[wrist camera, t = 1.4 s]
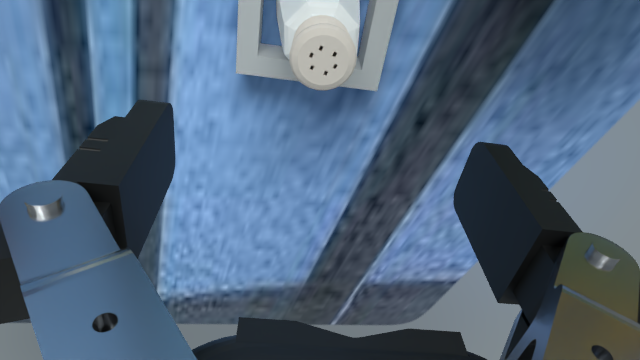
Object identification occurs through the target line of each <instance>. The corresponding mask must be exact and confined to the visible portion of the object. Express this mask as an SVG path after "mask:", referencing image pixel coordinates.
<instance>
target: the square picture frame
mask: <svg viewBox="0 0 640 360" xmlns="http://www.w3.org/2000/svg"><path fill="white" fill-rule="evenodd" d="M398 2H399V0H369V4H368V9H367V14H366V19H365V23H364V28H363V33H362V38H361V43H360V48H359V53H358V56H357V60H356V66H355V69H354V71H353V73H352V75H351V76H350V77H349V79H348V80H347V81H346V82H344V83H343V84H342V85H340V87H348V88H356V89H363V90H371V91H377V89H378V85H379V81H380V77H381V72H382V68H383V64H384V60H385V56H386V52H387V47H388V43H389V39H390V35H391V31H392V27H393V22H394V18H395V14H396V10H397V6H398ZM263 3H264V0H238V29H237V58H236V73H238V74H246V75H253V76H261V77H269V78H277V79H285V80H293V81H299V80H298V79H297V78H296V77H295V75H294V73H293V72H292V70H291V66H290V62H289V59H288V58H287V57H286V56H285V55H284V52H283V49H282V46H277V45H270V44H263V43H261V33H262V18H263Z"/></svg>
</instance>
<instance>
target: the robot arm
mask: <svg viewBox="0 0 640 360" xmlns="http://www.w3.org/2000/svg"><path fill="white" fill-rule="evenodd" d="M174 169H175V140H174V119H173V108H172V105H171V104H170V103H164V102H156V101H147V100H138V101H137V102H136V103H135V105H134V106H133V107H132V109H131V110H130V111H129V113H128V114H127V115H126V117H116V116H115V117H113V118H111V119H109V120H107V121H105V122H103V123H101V124H99V125H97V127H96V128H95V129H94V130H93V131H92V133H91V134H90V135H89V136H88V140H85V141H84V142H83V143H82V145H81V146H80V149H79V150H78V149H77V151H76V152H75V153H74V154H73V155H72V157H71V158H70V159H69V160H68V161H67V163H66V164H65V165H64V166H63V167H62V169H61V170H60V171H59V172H58V173H57V175H56V176H55V177H54V178H53V179H52V180H50V181H42V182H36V183H33V184H29V185H26V186H24V187H21V188H19V189H17V190H15V191H13V192H12V193H10V194H9V195H8V196H6V197H5V198H4V199H3V200H2V202H1V203H0V324H2V323H7V322H13V321H18V320H23V319H28V318H30V319H31V322H32V325H33V329H34V332H35V335H36V338H37V341H38V344H39V347H40V350H41V353H42V356H43V359H44V360H487V359H485V358H483V357H481V356H478V355H476V354H473V353H471V352H468V351H466V348H465V345H464V342H463V339H462V336H461V333H460V332H449V331H435V330H420V329H404V330H398V331H393V332H388V333H382V334H377V335H371V336H366V337H360V338H352V337H348V336H344V335H341V334H337V333H334V332H330V331H328V330H324V329H321V328H317V327H314V326H311V325H307V324H304V323H301V322H297V321H287V320H272V319H257V318H242V317H239V321H238V329H237V335H234V336H229V337H224V338H221V339H218V340H214V341H211V342H208V343H206V344H204V345H201V346H199V347H197V348H195V349H193V350H191V349H190V347H189V345H188V344H187V342H186V340H185V339H184V337H183V335H182V334H181V332H180V330H179V328H178V327H177V325H176V323H175V322H174V320H173V318H172V317H171V315H170V313H169V312H168V310H167V308H166V307H165V305H164V303H163V301H162V300H161V298H160V296H159V295H158V293H157V291H156V290H155V288H154V286H153V285H152V283H151V281H150V280H149V278H148V276H147V275H146V273H145V271H144V269H143V268H142V266H141V264H140V263H139V261H138V257H139V255H140V252H141V250H142V248H143V245H144V243H145V241H146V239H147V236H148V234H149V232H150V229H151V227H152V225H153V222H154V220H155V218H156V216H157V213H158V211H159V209H160V206H161V204H162V202H163V199H164V197H165V195H166V193H167V190H168V188H169V186H170V183H171V181H172V178H173V174H174ZM556 200H557V199H556V198H555V197H554V196H553V194H552V193H551V192H548V188H547V187H546V185H545V184H544V183H543V182H542V180H541V179H540V178H539V177H538V176H537V175H536V174H534V173H533V172H532V171H530V170H529V169H528V168H526V167H525V166H523V165H522V163H521V162H520V161H519V159H518V158H517V157H516V156H515V154H514V153H513V152H512V150H511V149H510V148H509V147H508V146H507V145H501V144H493V143H485V142H478V143H476V144H475V145H474V147H473V148H472V150H471V153H470V155H469V157H468V160H467V162H466V164H465V167H464V169H463V172H462V174H461V176H460V179H459V181H458V184H457V186H456V189H455V193H454V208H455V211H456V213H457V215H458V217H459V220H460V222H461V224H462V226H463V228H464V230H465V233H466V235H467V237H468V239H469V241H470V243H471V246H472V248H473V250H474V252H475V254H476V256H477V259H478V261H479V263H480V265H481V267H482V269H483V271H484V274H485V276H486V278H487V280H488V282H489V285H490V287H491V289H492V291H493V293H494V295H495V298H496V300H497V302H498V303H506V304H519V305H520V306H521V308H522V309H521V311H520V312H519V314H518V315H517V317H516V319H515V321H514V324H513V326H512V329H511V331H510V334H509V337H508V339H507V342H506V345H505V347H504V350H503V352H502V355H501V358H500V360H640V269H639V266H638V264H637V262H636V261H635V260H634V259H633V257H632V256H631V255H630V254H628V252H626V251H625V250H624V249H623V248H621V247H620V246H618V245H617V244H615V243H613V242H612V241H610V240H608V239H605V238H603V237H601V236H598V235H595V234H591V233H584V232H582V231H581V230H580V228H579V227H578V226H577V224H576V223H575V222H574V221H573V220H572V218H571V217H570V216H569V214H568V213H567V212H566V211H565V209H564V208H563V207H562V206H561V205H560V203H559V202H556Z"/></svg>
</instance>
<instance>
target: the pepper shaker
mask: <svg viewBox="0 0 640 360" xmlns="http://www.w3.org/2000/svg"><path fill="white" fill-rule="evenodd" d="M276 15H277V21H278V26H279V32H280V37H281V43H282V49H283V52H284V55H285V56H286V57H287V58H288V59H289V62H290V66H291V70H292V72H293V73H294V75H295V77H296V78H297V79H298V80H299V81H300V82H301V83H302V84H303V85H305V86H307V87H309V88H311V89H315V90H330V89H334V88H336V87H338V86H340V85H342V84H343V83H344V82H346V81H347V80H348V79H349V77H350V76H351V75H352V73H353V71H354V69H355V66H356V60H357V50H358V40H359V29H360V3H359V0H276Z"/></svg>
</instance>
